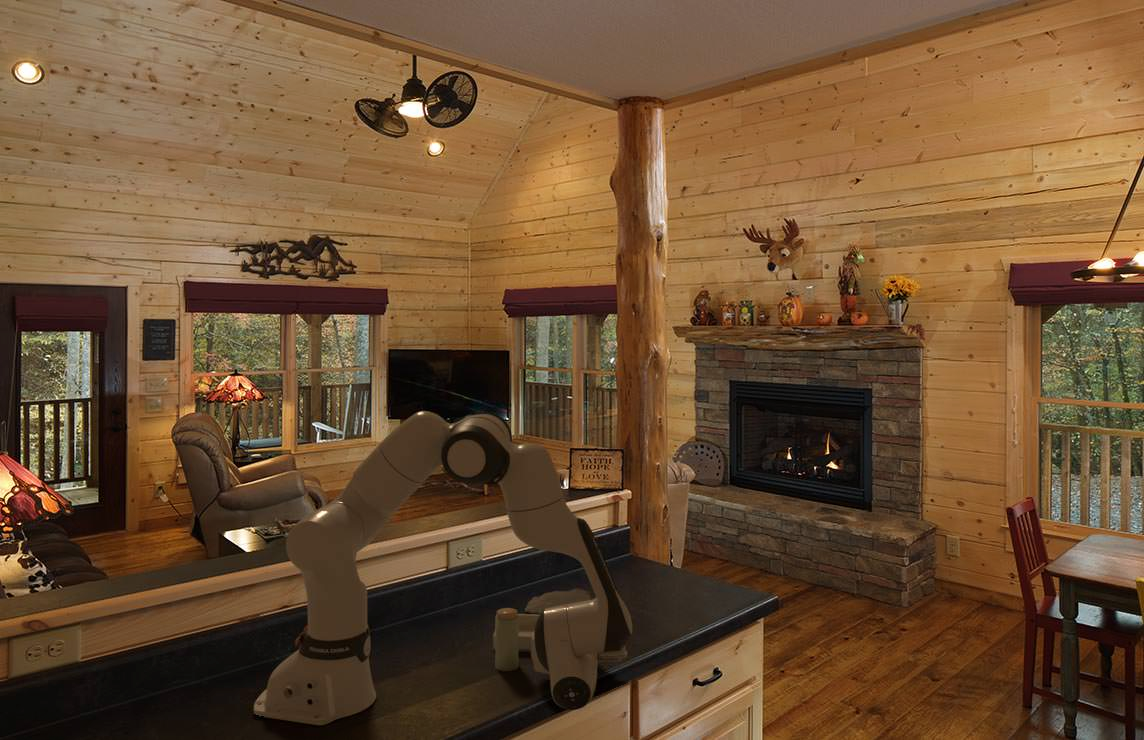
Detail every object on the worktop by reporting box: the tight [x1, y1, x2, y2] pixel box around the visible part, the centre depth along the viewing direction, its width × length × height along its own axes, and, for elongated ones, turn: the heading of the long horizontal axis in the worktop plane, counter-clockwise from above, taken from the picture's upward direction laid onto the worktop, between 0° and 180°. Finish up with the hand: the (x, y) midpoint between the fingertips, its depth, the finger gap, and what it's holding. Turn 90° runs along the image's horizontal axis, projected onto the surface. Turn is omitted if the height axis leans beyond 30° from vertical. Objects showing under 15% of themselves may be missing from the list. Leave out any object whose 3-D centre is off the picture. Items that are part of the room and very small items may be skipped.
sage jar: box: [494, 607, 520, 672], centre depth 163 cm, size 5×5×12 cm
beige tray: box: [492, 613, 540, 653], centre depth 177 cm, size 24×14×4 cm, turn 87°
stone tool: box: [524, 588, 592, 615], centre depth 194 cm, size 20×3×25 cm
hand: (579, 630), depth 166 cm, fingers closed on birch block, 4 cm apart
